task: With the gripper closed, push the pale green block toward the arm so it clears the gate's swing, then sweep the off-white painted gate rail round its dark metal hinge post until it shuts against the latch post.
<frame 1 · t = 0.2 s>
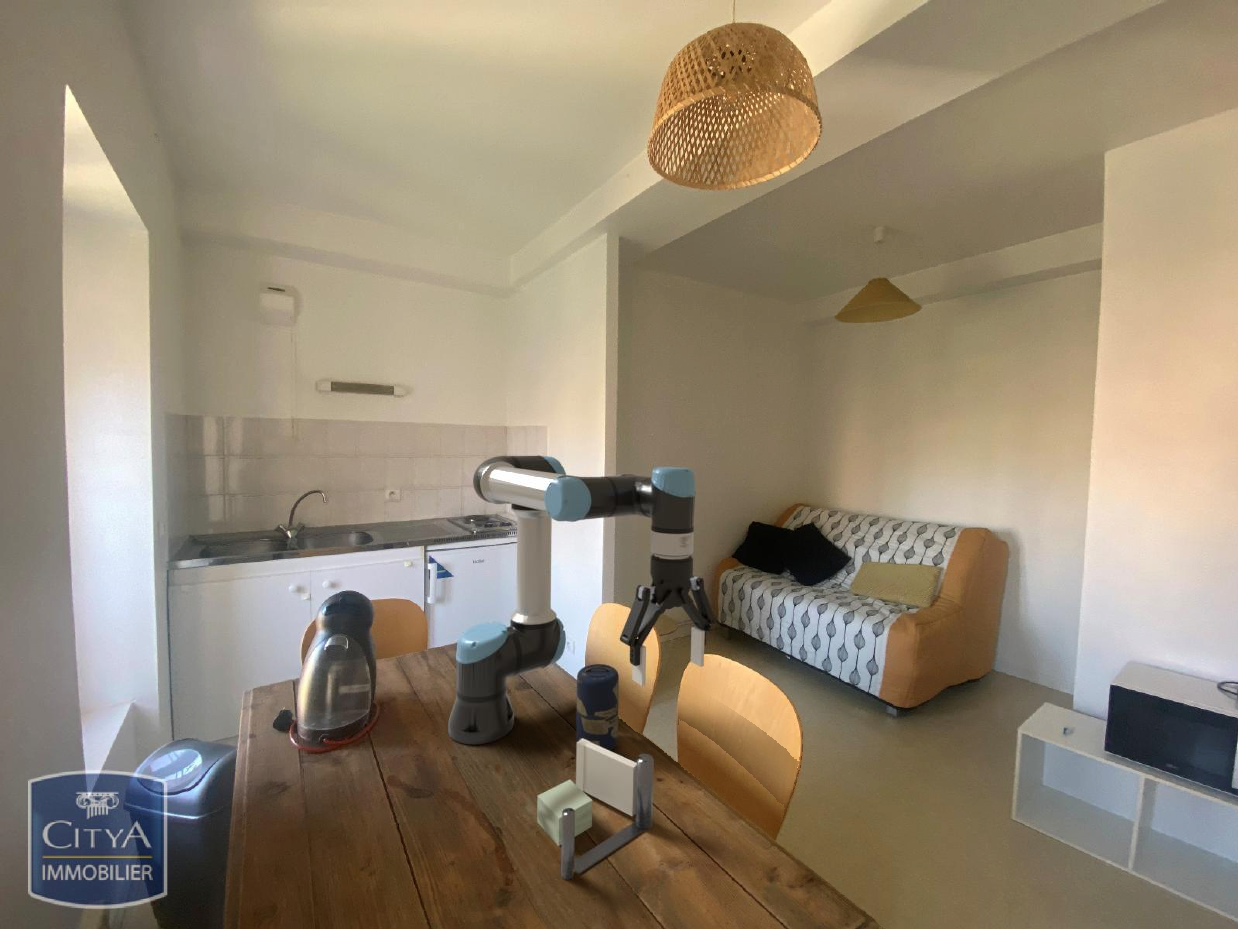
hand: (669, 673, 89), 27 cm above the table, fingers open, 13 cm apart
canister: (596, 746, 113), on the table
gate frame: (643, 824, 89), on the table
gate: (606, 776, 94), point 5 cm above the table, hinge at -75.0°
pale green block: (564, 825, 89), on the table
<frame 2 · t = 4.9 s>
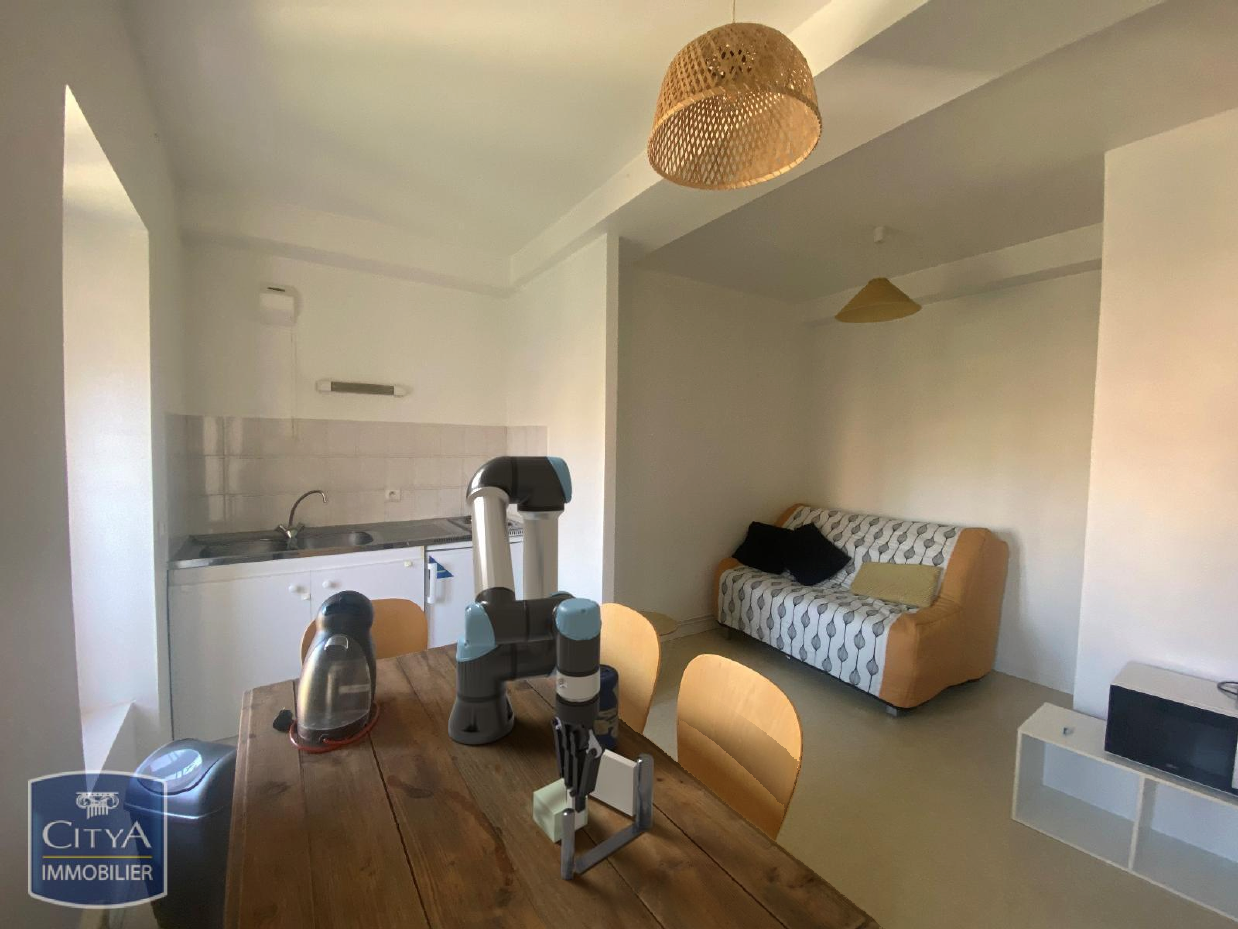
hand: (575, 824, 87), 2 cm above the table, fingers closed
pale green block: (560, 821, 90), on the table, touching gripper
everything else where it was.
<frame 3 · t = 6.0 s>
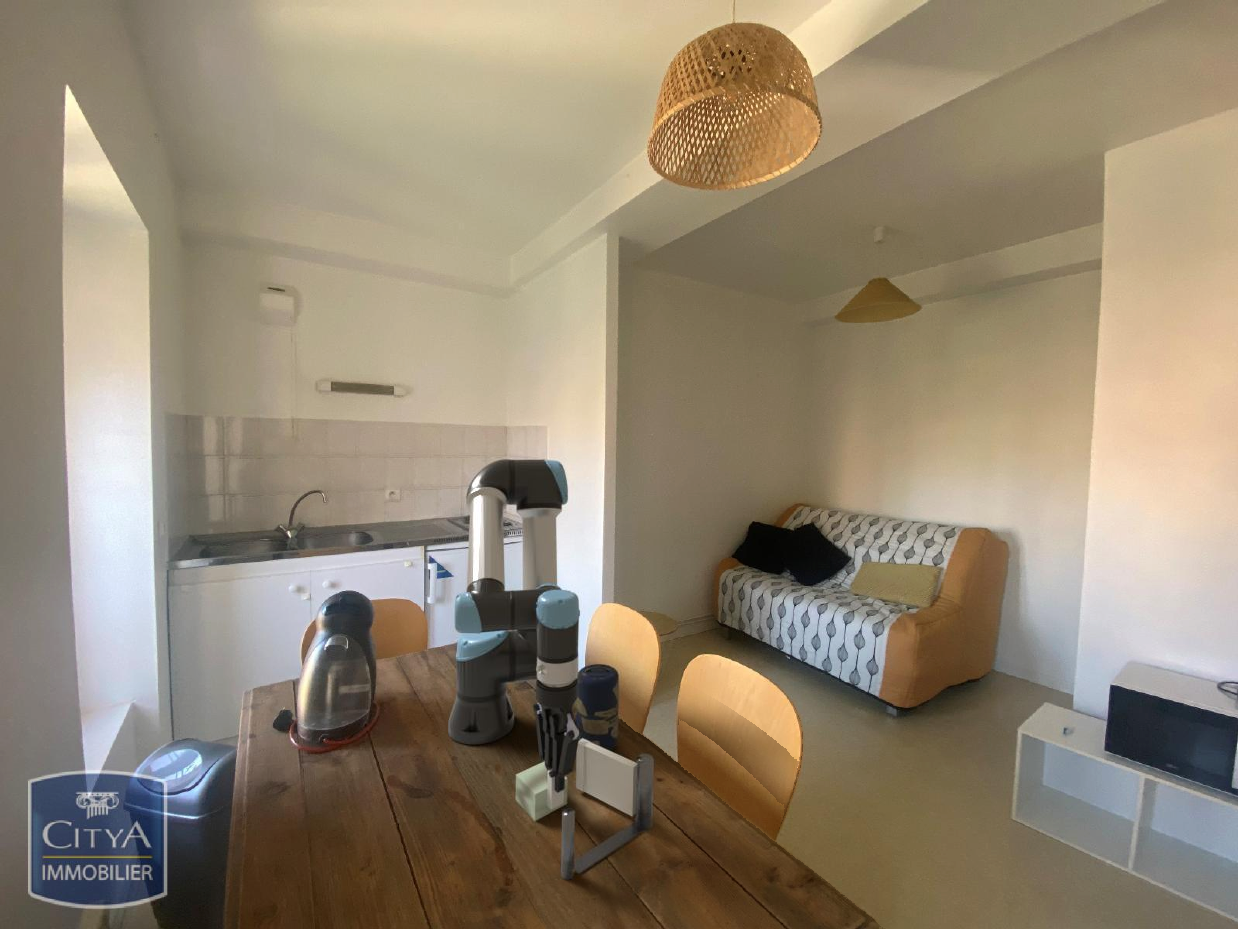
hand: (555, 804, 92), 2 cm above the table, fingers closed
pale green block: (541, 802, 95), on the table
everything else where it was.
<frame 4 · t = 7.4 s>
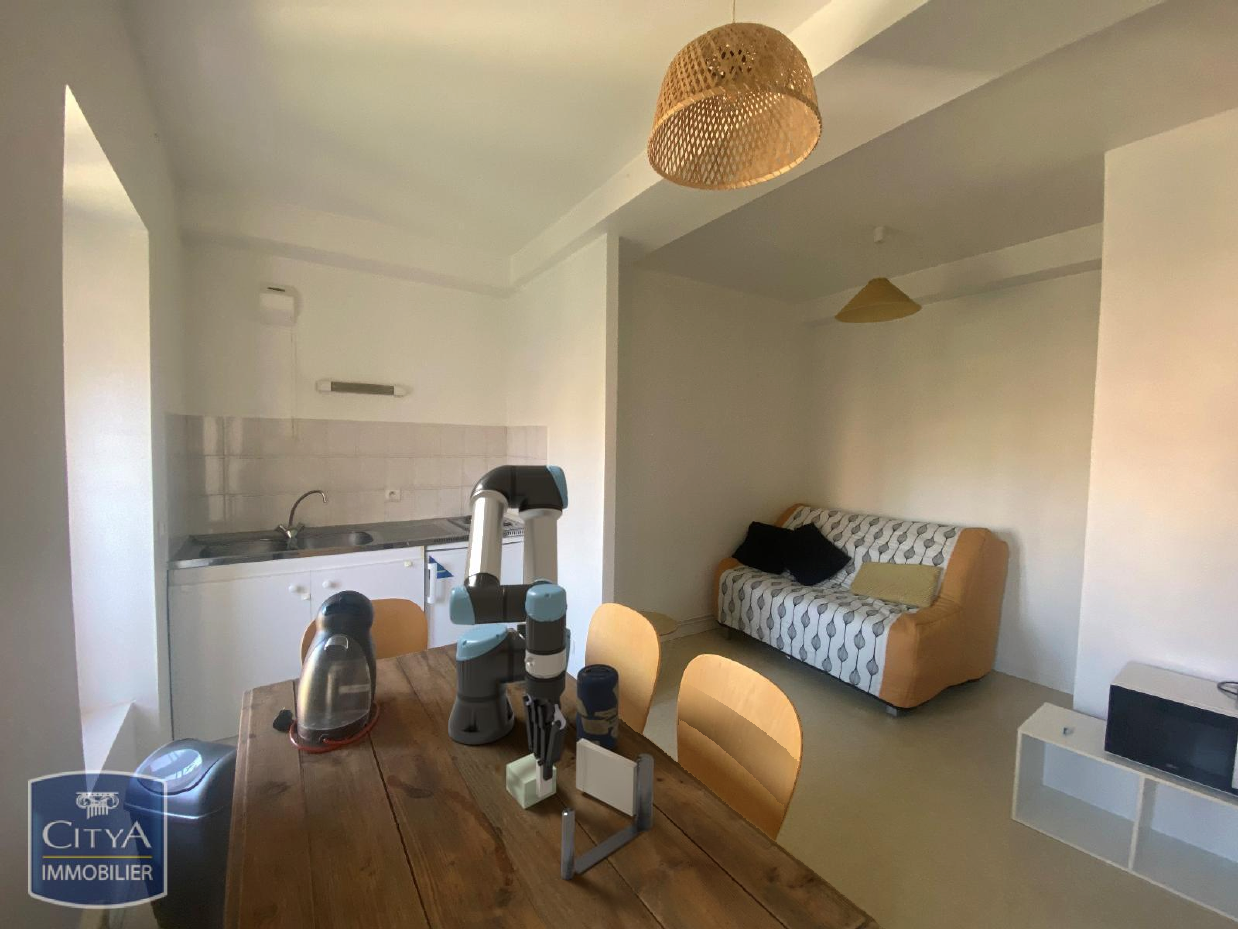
hand: (543, 792, 94), 2 cm above the table, fingers closed
pale green block: (531, 791, 98), on the table
everything else where it was.
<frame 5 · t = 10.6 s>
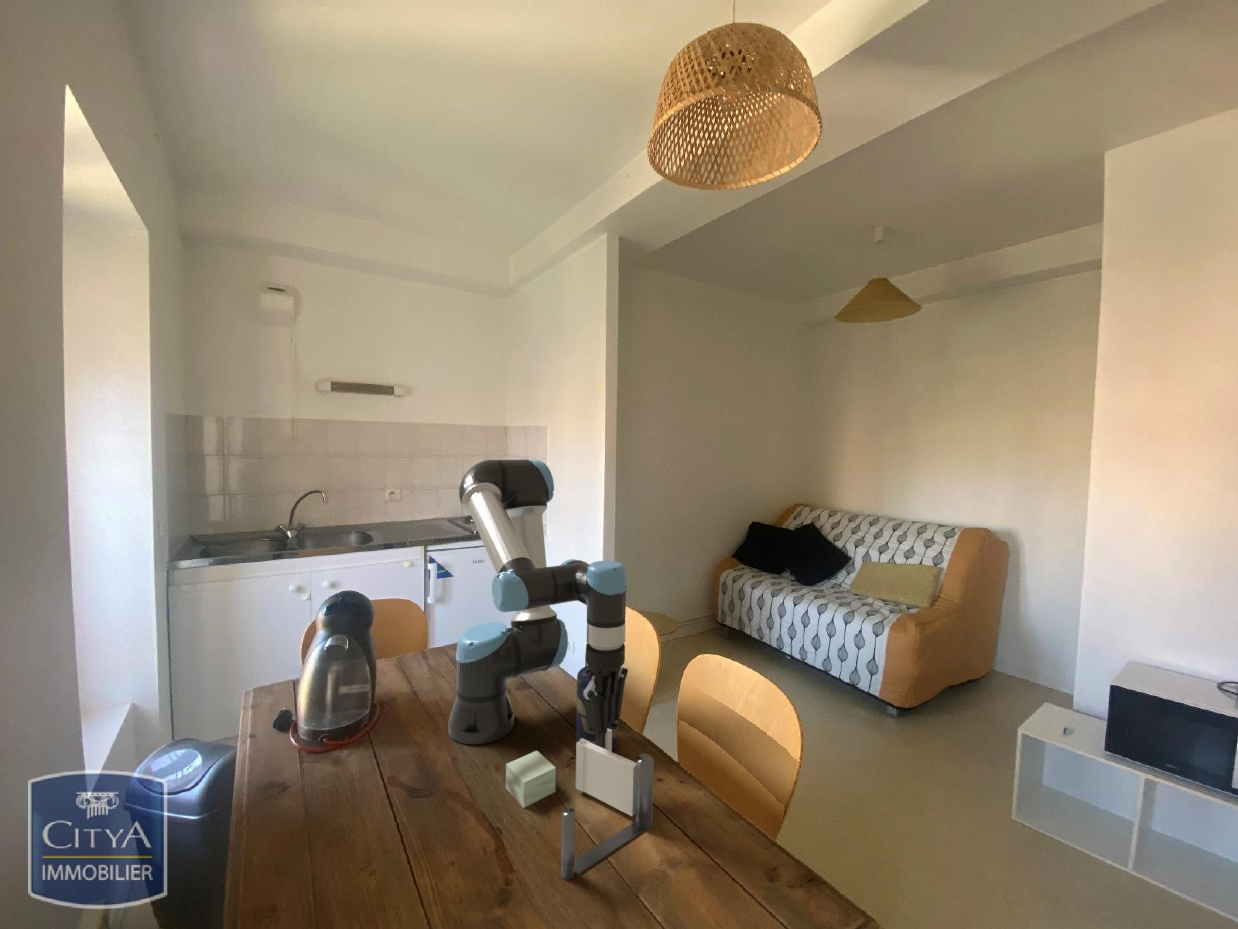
hand: (603, 761, 98), 6 cm above the table, fingers closed
gate: (605, 776, 94), point 5 cm above the table, hinge at -74.6°, touching gripper
everything else where it was.
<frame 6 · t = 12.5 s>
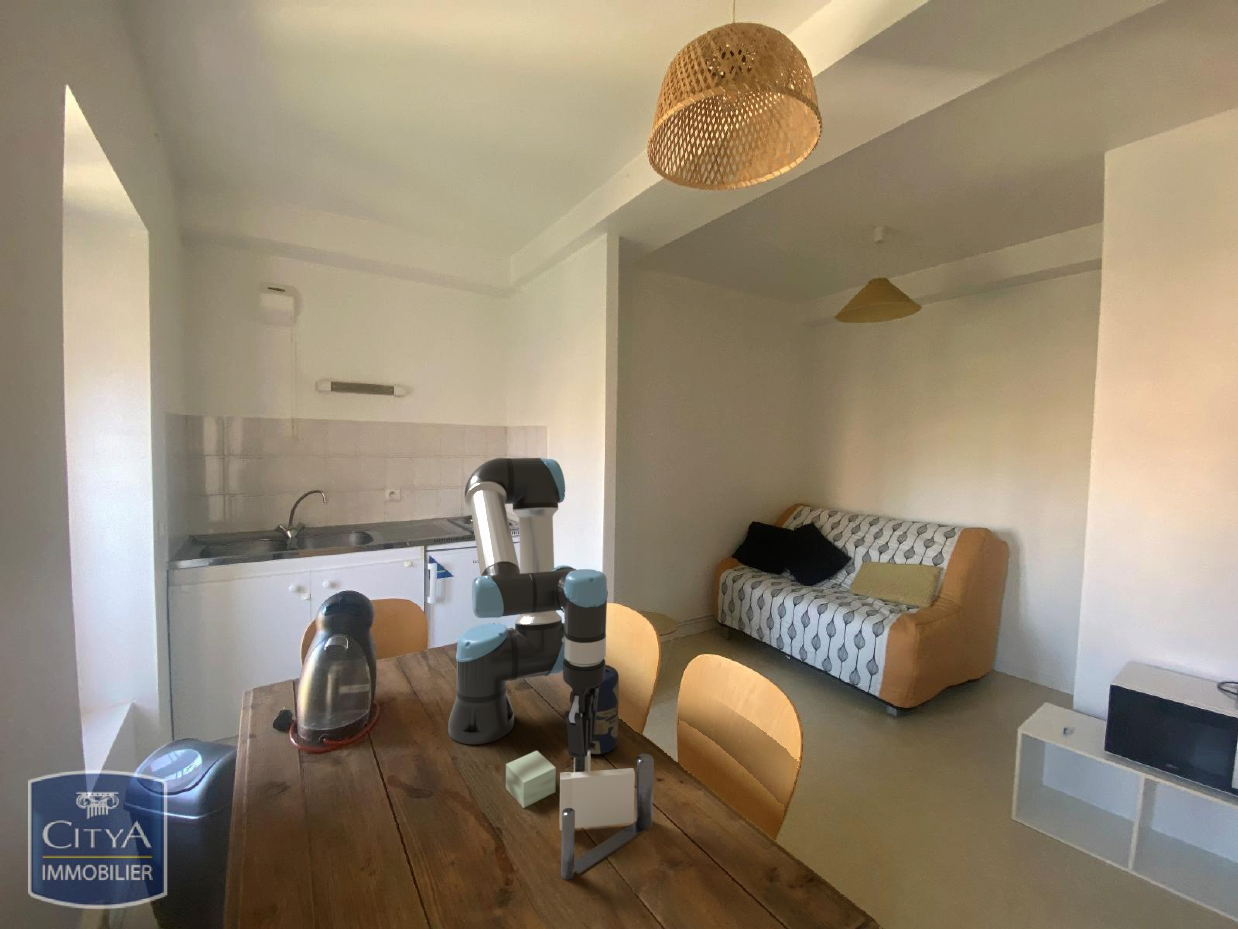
hand: (581, 786, 90), 6 cm above the table, fingers closed
gate: (597, 798, 88), point 5 cm above the table, hinge at -32.2°, touching gripper
everything else where it was.
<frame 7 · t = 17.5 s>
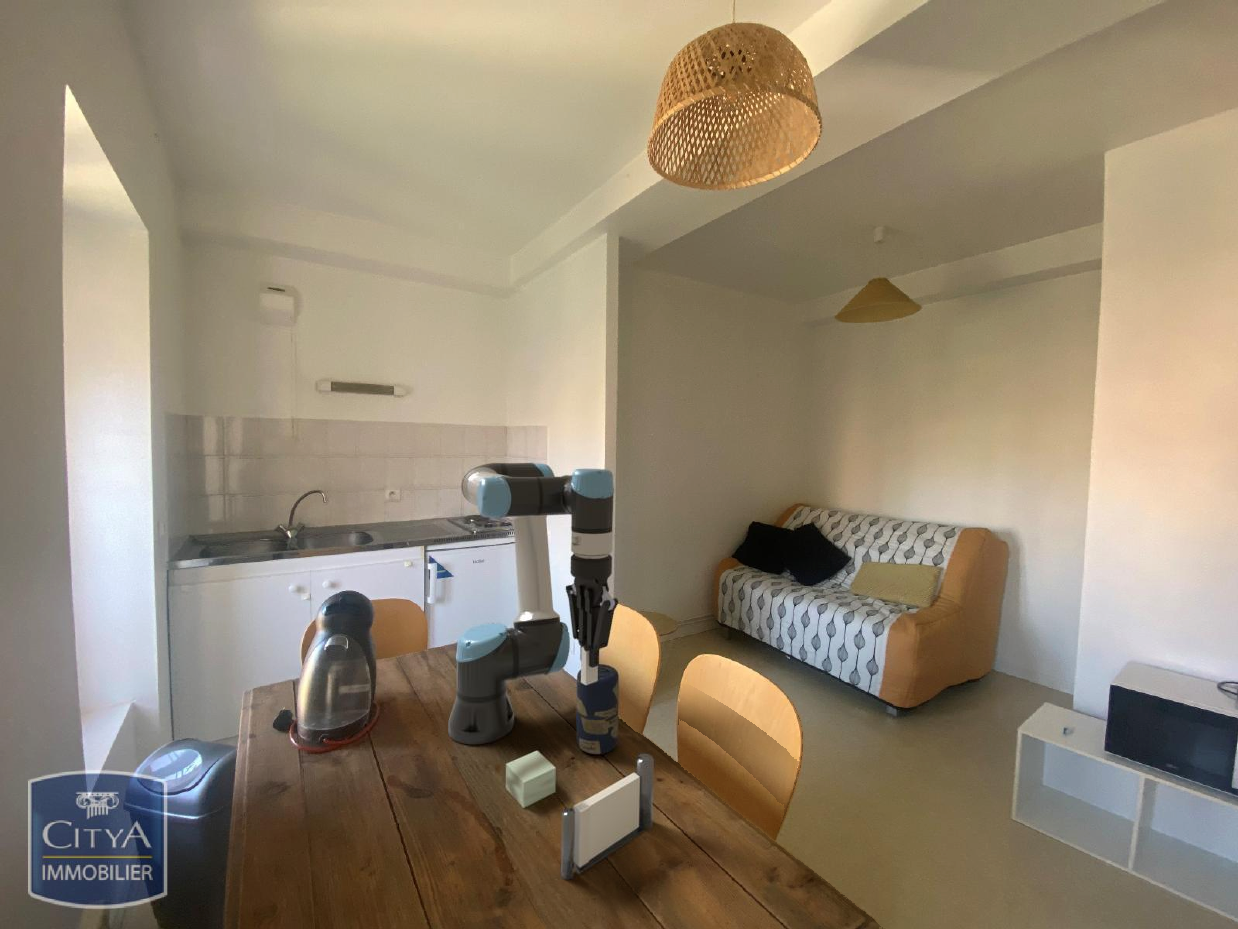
hand: (589, 681, 91), 24 cm above the table, fingers closed
gate: (608, 817, 84), point 5 cm above the table, hinge at 0.9°
everything else where it was.
at the end: gate at +1° (first picture: -75°); pale green block touching table; pale green block moved 11.6 cm from its start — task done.
